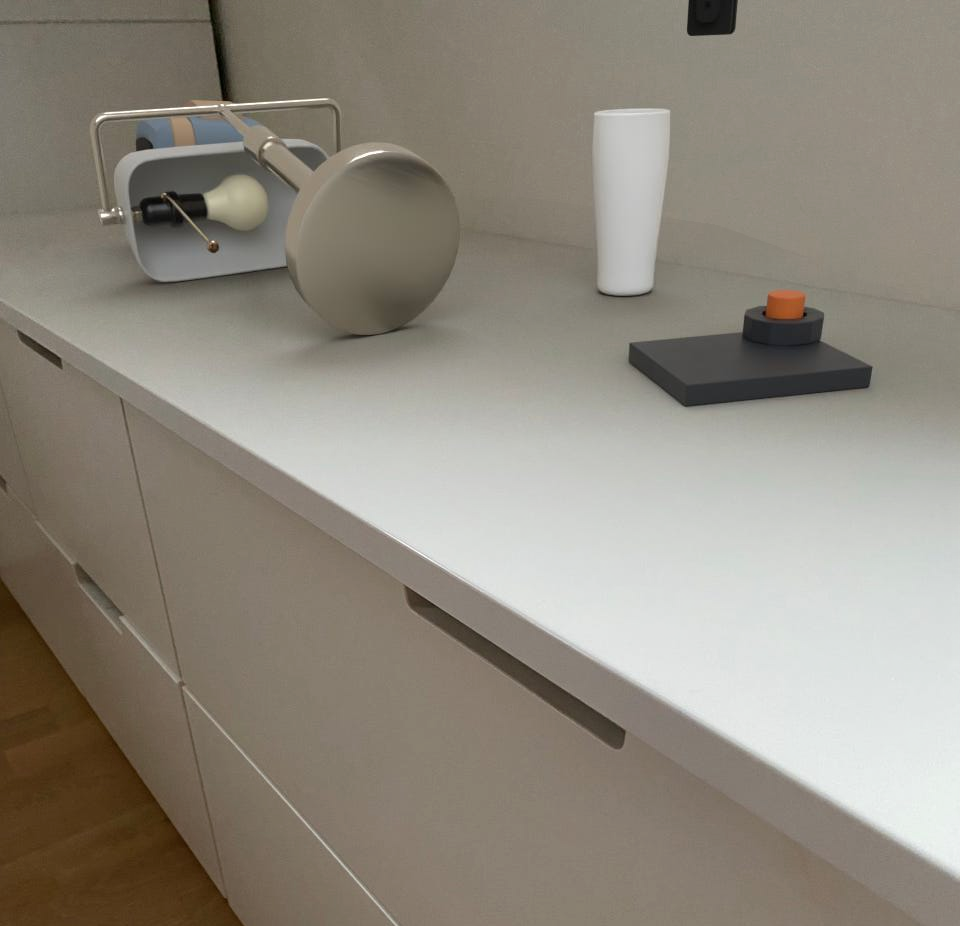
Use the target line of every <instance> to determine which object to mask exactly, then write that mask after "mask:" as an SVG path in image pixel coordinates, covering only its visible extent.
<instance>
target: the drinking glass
mask: <svg viewBox="0 0 960 926" xmlns="http://www.w3.org/2000/svg"><path fill="white" fill-rule="evenodd" d="M671 113H672V112H671V109H668V108H654V107H653V108H652V107H651V108H650V107H649V108H619V109H617V108H616V109H605V110H598V111H597V110H596V111H595V112H594V113H593V114H592V115H593V117H592V118H593V119H592V131H591V133H592V134H591V177H592V178H591V179H592V180H591V181H592V194H593V195H592V196H593V197H592V198H593V214H594V232H595V233H594V234H595V251H596V252H595V254H596V287H597V290H598V291H599V292H600V293H602V294H605V295H609V296H615V297H616V296H617V297H633V296H641V295H645V294H647V293H649V292H650V291H652V289H653V288H654V285H655V276H656V275H655V274H656V260H657V252H658V245H659V237H660V229H661V223H662V215H663V208H664V201H665V193H666V187H667V179H668V178H667V177H668V169H669V162H670V161H669V160H670V149H671V148H670V147H671V145H670V144H671Z"/></svg>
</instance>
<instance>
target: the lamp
mask: <svg viewBox="0 0 960 926" xmlns="http://www.w3.org/2000/svg"><path fill="white" fill-rule="evenodd" d="M312 109H330V110H331V112H332V155H331V156H329V154H327V152H326V150H324V149H322V147H320V146H318V145H317V144H315V143H312V142H311V141H308V140H304V139H302V138H301V139H300V138H280V137H279V136H278V135H277V134H276V133H274V132H273V131H272V130H271V129H270V128H268V127H267V126H265V125H264V124H262V125H254V126H252V127H248V126H247V125H246V124H245V123H244V122H243V121H241V120H240V119H239V118H238V117H237V116H235V115H234V114H242V115H243V114H256V113H270V112H284V111H298V110H299V111H300V110H312ZM213 115H217V116H218V117H220V118H223V119H224V120H225V121H226V122H228V123H229V124H230V125H231V126H232V127H233V128H234V129H236V130H237V131H238V132H239V133H240V134H241V135H242V136H244V137H243V142H231V143H218V144H205V145H193V146H180V147H170V148H159V149H149V150H142V151H137V152H136V151H133V152H129V153H128V154H126V155H125V156H123V157H122V158H121V159H120V160H119V161H118V163H117V165H116V167H115V169H114V173H113V187H114V188H113V189H114V195H115V199H116V204H117V206H116V207H113V204H112V197H111V191H110V186H109V185H110V184H109V179H108V173H107V172H108V171H107V165H106V160H105V154H104V147H103V141H102V135H101V128H102V126H103V125H104V124H108V123H109V124H111V123H124V122H139V121H140V120H154V119H169V118H183V117H198V116H213ZM263 125H264V126H263ZM89 134H90V140H91V146H92V151H93V158H94V163H95V164H94V165H95V171H96V175H97V181H98V187H99V188H98V189H99V194H100V200H101V205H102V208H99V209H97V218H98V221H99V224H100V225H101V227H106V226H107V227H108V226H115V225H116V226H117V225H120V226H122V229H123V233H124V235H125V237H126V241H127V243H128V245H129V248H130V250H131V252H132V254H133V256H134V259H135V261H136V262H137V264H138V265H139V268H140V269H141V271H142V272H143V273H144V274H145V275H146V276H147V277H149V278H150V279H152V280H154V281H156V282H159V283H177V282H185V281H193V280H200V279H201V280H202V279H209V278H216V277H223V276H231V275H238V274H244V273H251V272H259V271H266V270H273V269H280V268H287V271H288V274H289V278H290V280H291V282H292V284H293V286H294V289H295V290H296V292H297V293H298V294H299V297H300V298H301V299H302V300H303V302H304V303H305V304H306V305H307V306H308V307H309V308H310V309H311V310H312V311H313V312H314V313H315V314H316V315H317V316H318V317H319V318H320V319H321V320H322V321H323V322H325V323H326V324H328V325H330V326H331V327H332V328H335V329H337V330H339V331H342V332H345V333H348V334H352V335H360V336H372V335H380V334H384V333H388V332H392V331H394V330H396V329H399V328H401V327H403V326H405V325H406V324H409V323H410V322H412V321H413V320H415V319H416V318H417V317H418V316H419V315H421V314H422V313H424V312H425V310H427V308H429V306H430V305H432V303H434V301H435V300H436V298H437V297H438V296H439V294H440V293H441V292H442V291H443V289H444V287H445V285H446V283H447V281H448V280H449V278H450V276H451V273H452V271H453V269H454V266H455V263H456V260H457V256H458V252H459V246H460V240H461V239H460V238H461V222H460V213H459V209H458V206H457V205H458V204H457V202H456V198H455V196H454V194H453V192H452V190H451V188H450V185H449V183H448V182H447V181H446V179H445V178H444V176H443V175H442V174H441V173H440V172H439V171H438V170H437V169H436V168H435V167H434V166H433V165H432V164H431V163H429V162H428V161H426V160H425V159H424V158H422V157H420V156H419V155H418V154H417V153H415V152H413V151H411V150H410V149H408V148H406V147H403V146H401V145H398V144H395V143H390V142H385V141H382V142H381V141H379V142H377V141H370V142H369V141H368V142H364V143H358V144H355V145H352V146H349V147H346V148H344V149H342V110H341V107H340V105H339V103H338V102H336V100H334V99H332V98H329V97H321V98H320V97H317V98H304V99H303V98H302V99H301V98H300V99H287V100H286V99H285V100H272V101H271V100H269V101H257V102H256V101H254V102H241V103H238V102H237V103H235V104H222V103H220V104H218V105H207V106H191V107H184V106H179V107H163V108H162V107H161V108H146V109H145V108H144V109H131V110H130V109H129V110H115V111H103V112H99V113H98V114H96V115H94V117H93V118H92V120H91V122H90V125H89Z"/></svg>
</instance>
